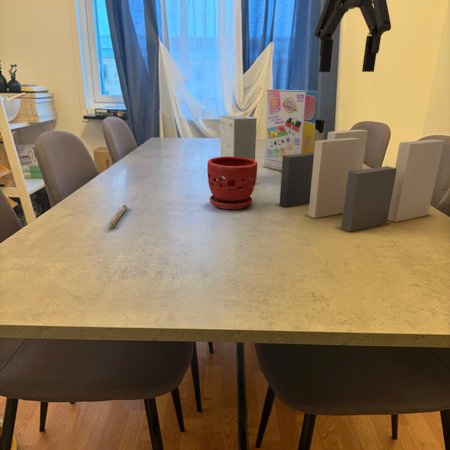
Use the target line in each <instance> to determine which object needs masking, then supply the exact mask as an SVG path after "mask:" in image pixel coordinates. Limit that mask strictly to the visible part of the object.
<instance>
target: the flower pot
mask: <svg viewBox="0 0 450 450" xmlns="http://www.w3.org/2000/svg"><path fill="white" fill-rule="evenodd" d="M206 168H207V184H208V187H209V191H210V192H211V194H212V195H211V196H209V202H210V203H211V205H213V206H214V207H216V208H218V209H219V208H220V209H223V210H240V209H244V208H245V209H246V208H247V207H249V206H250V205H251V204H252V203H253V198H252V194H253V192H254V189H255V186H256V182H257V176H258V161H256V159H255V160H253V159H249V158H244V157H231V156H225V157H221V156H216V157H212V158H210V159H208V160H207V167H206ZM222 176H223V177H224V178H225V179H224V178H223V177H222ZM250 178H251V179H250Z"/></svg>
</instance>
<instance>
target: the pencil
mask: <svg viewBox="0 0 450 450" xmlns="http://www.w3.org/2000/svg"><path fill="white" fill-rule="evenodd" d="M127 208H128V205H126V204H122V206H121V208H120V209H119V210H118V212H117V213H116V214H115V216H114V217H113V218H112V219H111V221H110V223H109V224H108V229H113V228H114V226H115V225H116V224H117V222H118V221H119V220H120V218H121V217H122V216H123V214H124V213H125V212H126V210H127Z"/></svg>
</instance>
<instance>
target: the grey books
mask: <svg viewBox="0 0 450 450" xmlns="http://www.w3.org/2000/svg"><path fill="white" fill-rule="evenodd" d="M313 160H314V152H313V153H303V154H293V155H283V158H282V171H281V173H280V174H281V176H280V193H279V205H281V206H283V207H285V208H289V207H294V206H301V205H306V204H309V203H310V193H311V182H312V171H313ZM396 171H397V168H395V167H392V166H387V165H385V166H379V167H371V168H362V170H354V171H348V179H347V187H346V194H345V202H344V209H343V213H342V218H341V225H340V229H342V230H345V231H347V232H351V233H352V232H355V231H360V230H365V229H369V228H374V227H375V228H376V227H379V226H383V225H387V224H388V221H389V220H388V215H389V209H390V204H391V198H392V193H393V187H394V182H395V176H396Z"/></svg>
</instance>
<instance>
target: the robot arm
mask: <svg viewBox="0 0 450 450" xmlns="http://www.w3.org/2000/svg"><path fill="white" fill-rule="evenodd" d="M355 8H356V9H359V10H360V12H361V16H362V17H363V20H364V21H365V24H366V27H367V28H368V31H369V32H368V35H366V39H365V46H364V54H363V61H362V69H361V72H362V73H366V72H367V73H374V72H375V67H376V60H377V54H379V52H380V47H381V39H382V36H383V34H384V33H385V32H390V30H391V28H392V23H391V18H390V13H389V7H388V2H387V0H325V3H324V6H323V9H322V11H321V15H320V18H319V20H318V23H317V25H316V28H315V31H314V37H316V38H318V39H319V40H320V44H319V56H320V58H319V69H318V72H319V73H330V72H331V68H332V67H331V66H332V56H333V48H334V39H333V35H334V33H335V32H336V30H337V28H338V26H339V25H340V22H342V20H343V18H344V16H345V14H346V13H347V12H349V10H353V9H355Z"/></svg>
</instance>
